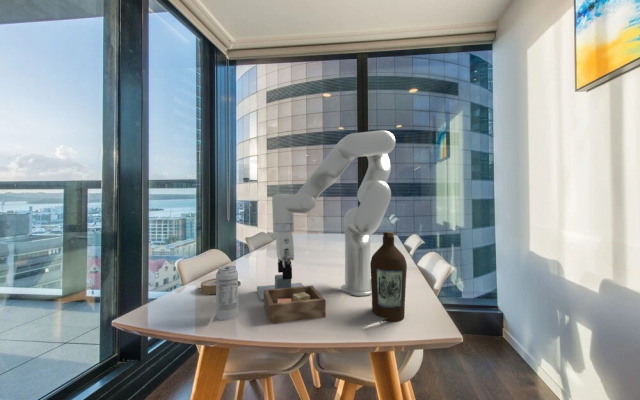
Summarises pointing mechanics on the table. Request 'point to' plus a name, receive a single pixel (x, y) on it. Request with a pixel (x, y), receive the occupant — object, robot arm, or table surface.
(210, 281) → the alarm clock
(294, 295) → the maple block
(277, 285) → the lid
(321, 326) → the table surface
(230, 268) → the energy drink can
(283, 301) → the terracotta block
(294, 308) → the box
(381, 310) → the olive oil
